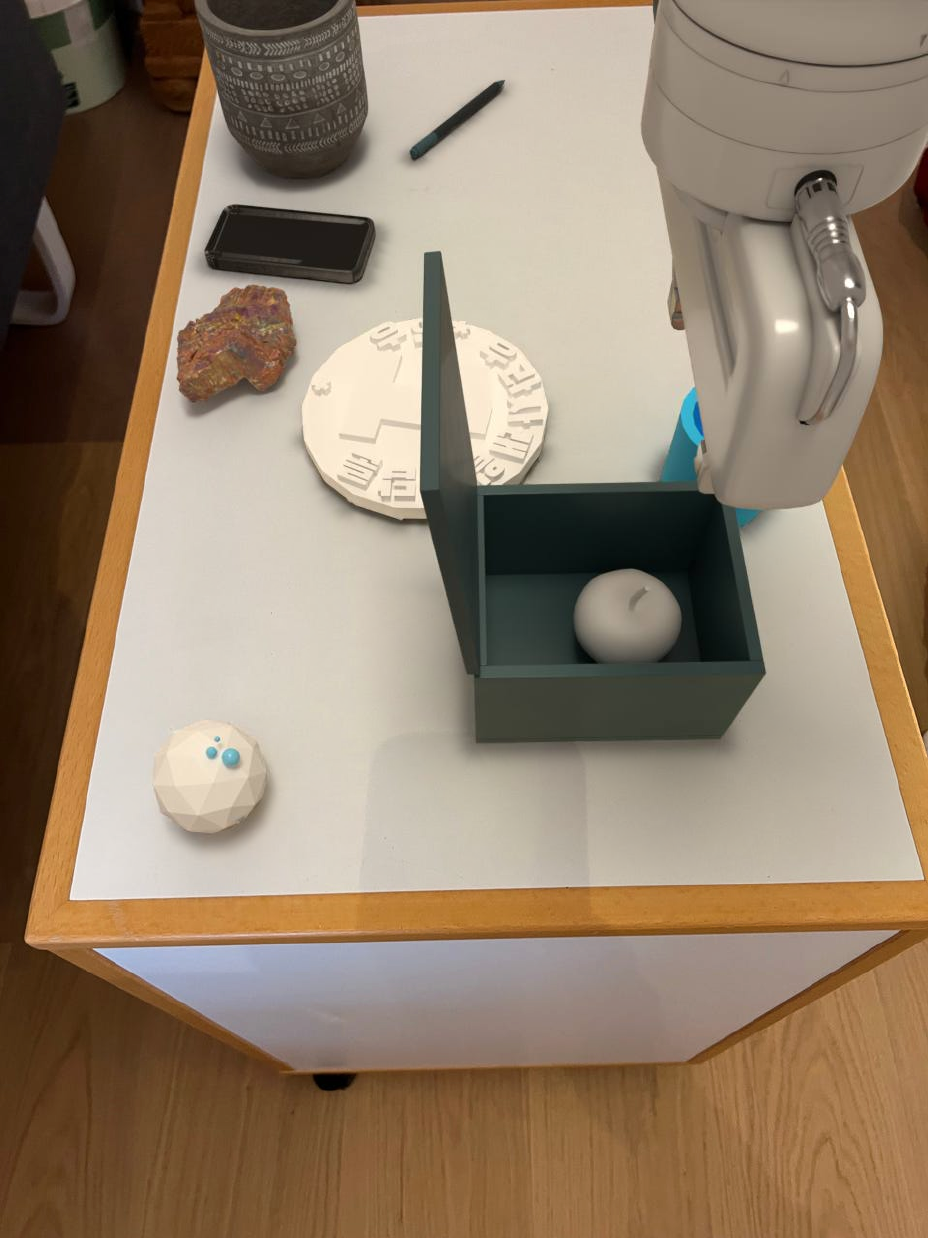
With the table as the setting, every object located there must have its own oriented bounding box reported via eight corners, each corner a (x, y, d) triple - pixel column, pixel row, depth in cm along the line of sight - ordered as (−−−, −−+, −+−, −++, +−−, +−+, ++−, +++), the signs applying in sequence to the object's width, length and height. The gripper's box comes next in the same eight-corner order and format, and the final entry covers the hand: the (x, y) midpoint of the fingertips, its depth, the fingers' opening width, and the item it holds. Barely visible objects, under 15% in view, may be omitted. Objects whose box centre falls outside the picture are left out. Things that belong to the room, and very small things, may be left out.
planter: (212, 179, 88) (164, 20, 75) (270, 98, 94) (235, -62, 81) (342, 206, 85) (316, 46, 72) (393, 121, 92) (377, -40, 78)
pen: (508, 87, 94) (508, 76, 93) (416, 161, 88) (415, 150, 87) (500, 84, 94) (500, 73, 93) (408, 157, 89) (407, 146, 88)
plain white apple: (671, 693, 60) (696, 641, 52) (567, 686, 60) (578, 633, 53) (669, 604, 63) (692, 544, 56) (570, 597, 63) (581, 537, 56)
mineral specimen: (285, 410, 71) (223, 356, 66) (220, 437, 75) (157, 388, 70) (311, 304, 76) (256, 247, 72) (249, 335, 80) (193, 282, 76)
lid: (441, 249, 40) (423, 251, 40) (439, 489, 34) (419, 491, 34) (477, 480, 55) (464, 481, 55) (480, 674, 49) (466, 675, 49)
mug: (765, 536, 66) (799, 470, 59) (657, 524, 67) (678, 457, 60) (763, 416, 72) (794, 342, 65) (664, 406, 73) (684, 331, 65)
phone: (225, 202, 84) (376, 217, 83) (229, 213, 85) (378, 227, 84) (200, 258, 80) (357, 274, 79) (204, 268, 81) (359, 284, 80)
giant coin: (394, 308, 79) (391, 282, 76) (588, 393, 73) (591, 368, 71) (258, 459, 71) (249, 436, 68) (463, 566, 66) (462, 545, 63)
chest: (694, 567, 65) (729, 479, 56) (720, 739, 59) (766, 673, 49) (473, 571, 65) (470, 484, 56) (475, 743, 59) (473, 678, 49)
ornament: (188, 863, 56) (145, 831, 49) (163, 764, 59) (119, 721, 52) (289, 822, 57) (262, 785, 50) (259, 727, 60) (229, 680, 53)
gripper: (996, 322, 22) (817, 594, 34) (828, -87, 31) (735, 240, 44) (742, 330, 22) (655, 598, 34) (652, -79, 32) (609, 244, 44)
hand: (699, 395), depth 39 cm, fingers open, 8 cm apart
